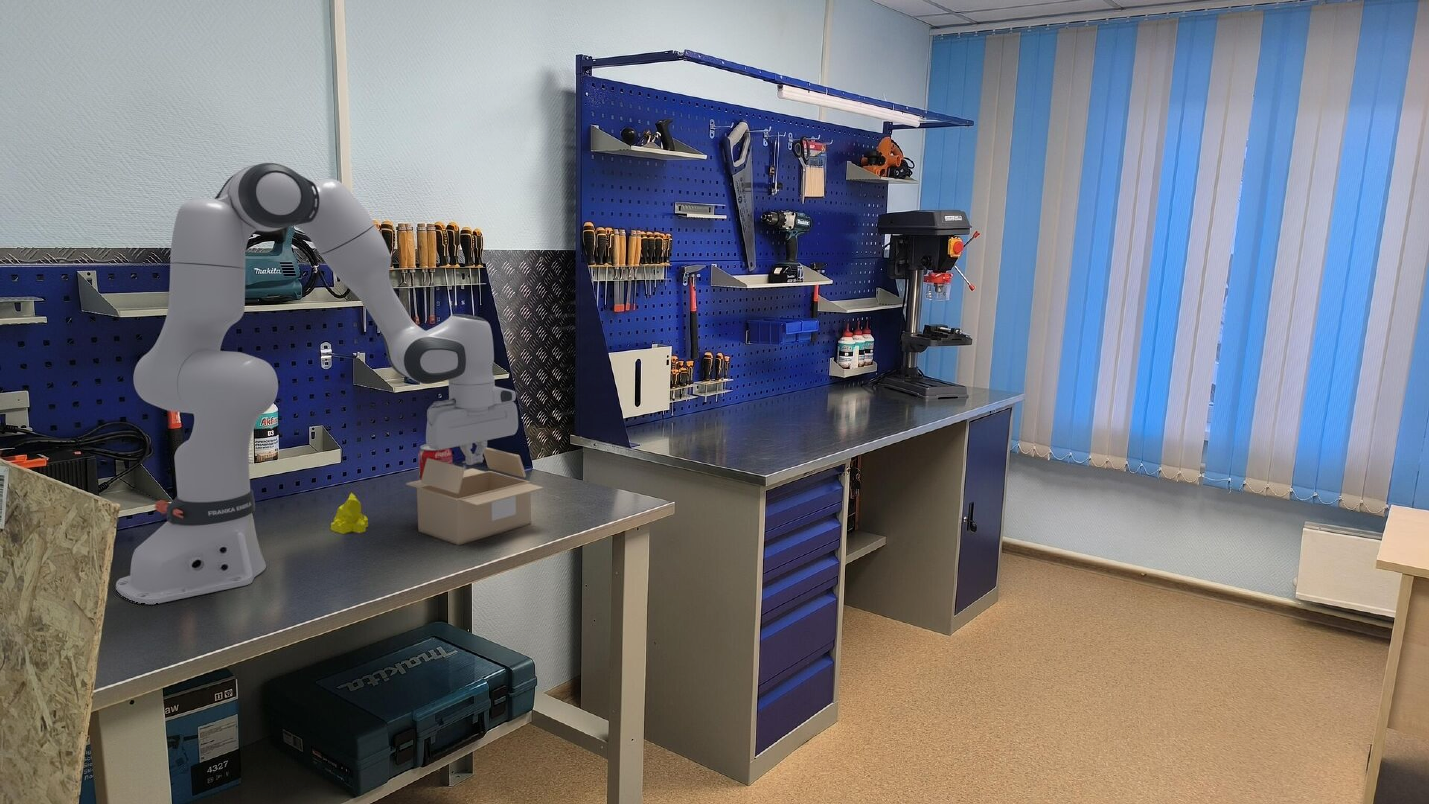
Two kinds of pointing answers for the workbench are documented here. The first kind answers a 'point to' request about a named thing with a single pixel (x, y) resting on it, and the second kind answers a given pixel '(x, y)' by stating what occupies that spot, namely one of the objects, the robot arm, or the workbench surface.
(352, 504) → the yellow jagged lump
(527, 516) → the carton
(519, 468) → the far flap
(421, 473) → the soda can
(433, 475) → the near flap
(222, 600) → the workbench surface
